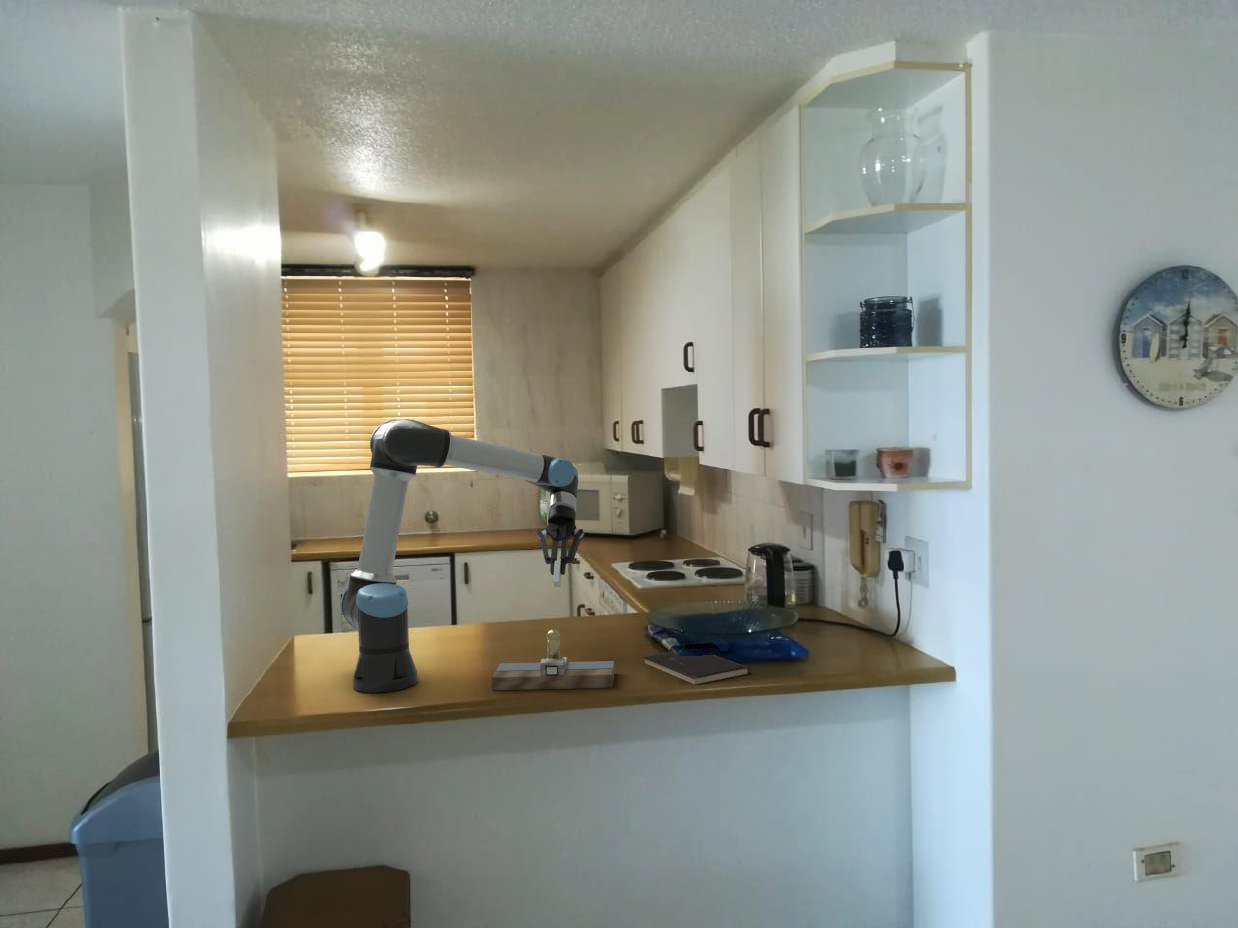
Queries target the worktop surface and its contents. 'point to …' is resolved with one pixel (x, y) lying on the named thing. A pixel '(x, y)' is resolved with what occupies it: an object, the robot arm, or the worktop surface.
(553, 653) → the bolt
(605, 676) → the block
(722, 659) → the hardcover book
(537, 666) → the latch base plate
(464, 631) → the worktop surface
